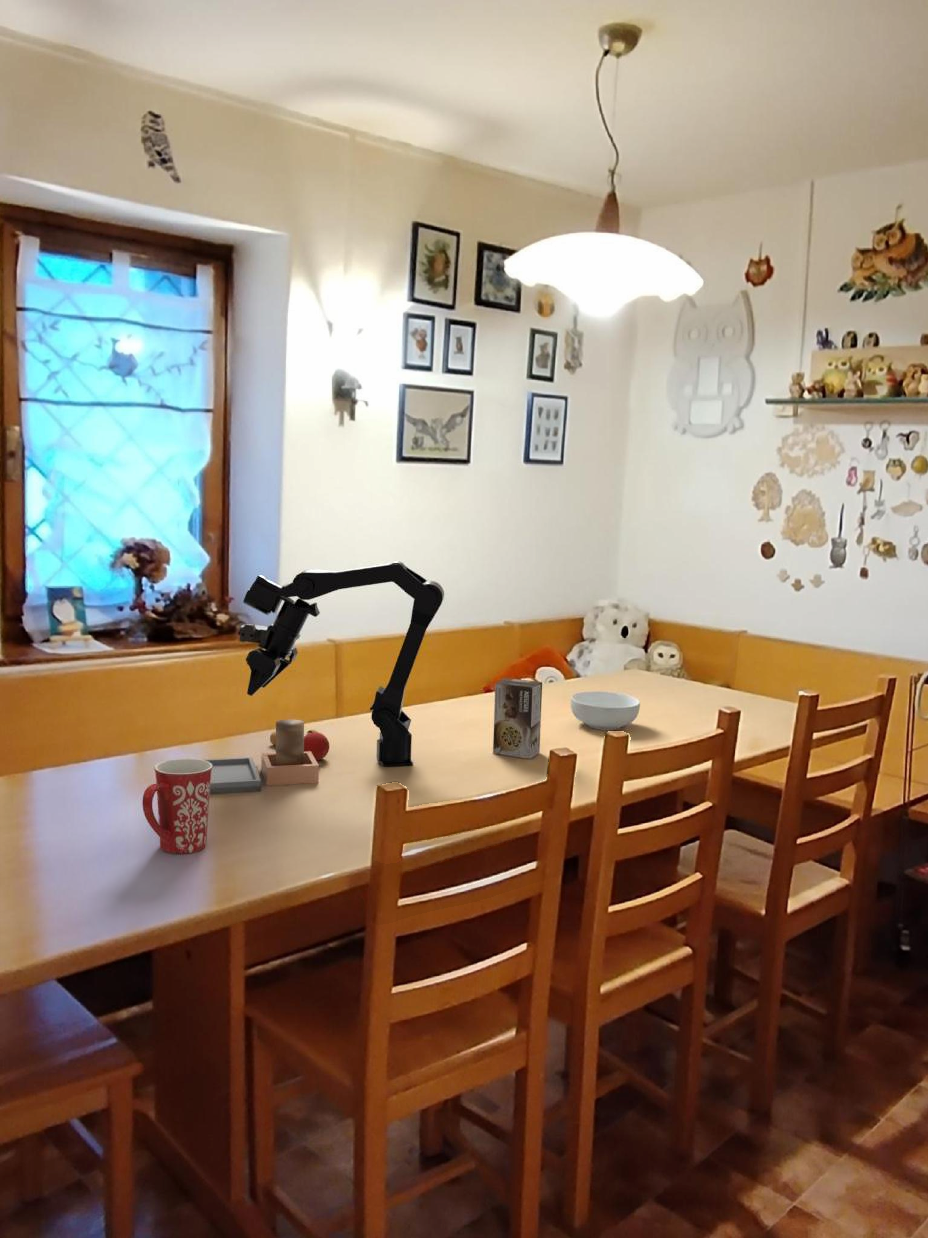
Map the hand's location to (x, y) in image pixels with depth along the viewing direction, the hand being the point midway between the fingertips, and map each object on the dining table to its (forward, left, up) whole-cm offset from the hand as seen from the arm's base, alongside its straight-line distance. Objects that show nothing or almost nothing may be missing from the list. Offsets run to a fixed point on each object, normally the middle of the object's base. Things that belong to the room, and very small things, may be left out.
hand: (255, 690), depth 217 cm
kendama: (-9, -1, -14) cm, 17 cm away
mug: (+18, +51, -14) cm, 56 cm away
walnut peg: (-5, +16, -14) cm, 22 cm away
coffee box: (-56, +8, -14) cm, 58 cm away
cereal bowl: (-86, -11, -14) cm, 88 cm away
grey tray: (+7, +16, -14) cm, 22 cm away
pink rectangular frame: (-5, +16, -14) cm, 22 cm away
